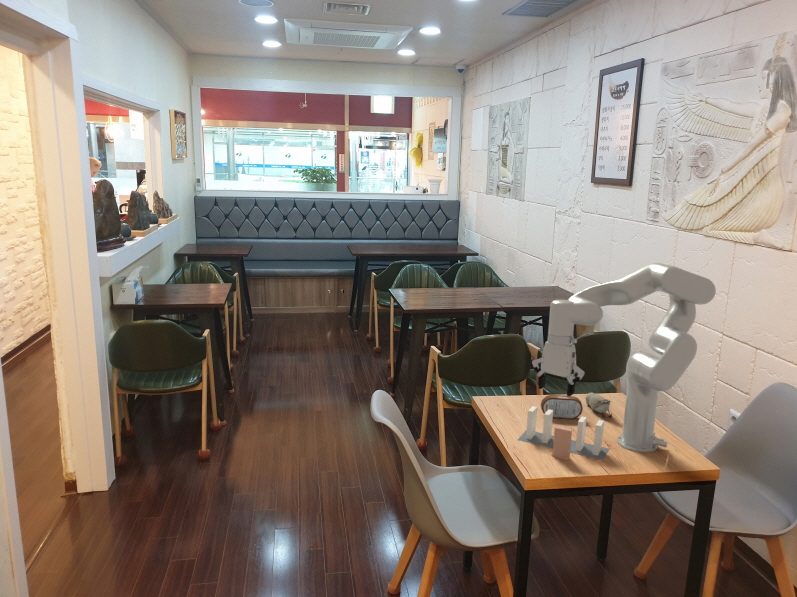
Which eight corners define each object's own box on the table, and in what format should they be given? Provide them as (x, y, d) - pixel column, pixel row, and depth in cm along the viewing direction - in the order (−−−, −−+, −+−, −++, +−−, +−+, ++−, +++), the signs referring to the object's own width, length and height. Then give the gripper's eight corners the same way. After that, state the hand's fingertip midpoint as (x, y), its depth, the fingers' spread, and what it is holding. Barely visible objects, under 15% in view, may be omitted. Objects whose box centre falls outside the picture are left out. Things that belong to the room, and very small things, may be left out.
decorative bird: (593, 404, 237) (595, 386, 236) (614, 420, 222) (616, 401, 220) (580, 404, 236) (582, 386, 235) (601, 420, 221) (603, 401, 220)
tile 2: (551, 438, 203) (553, 410, 201) (546, 443, 199) (549, 415, 197) (546, 437, 204) (548, 409, 202) (542, 442, 199) (544, 414, 198)
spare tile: (553, 455, 191) (556, 426, 189) (569, 459, 189) (572, 429, 187) (552, 457, 190) (554, 427, 188) (568, 461, 187) (570, 431, 185)
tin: (580, 417, 223) (582, 395, 222) (582, 420, 220) (584, 398, 219) (539, 414, 225) (541, 393, 223) (540, 418, 222) (542, 396, 220)
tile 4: (584, 445, 198) (586, 417, 196) (580, 451, 193) (583, 422, 191) (579, 444, 198) (581, 416, 197) (575, 450, 194) (578, 421, 192)
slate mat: (609, 449, 196) (609, 448, 196) (603, 461, 188) (603, 460, 188) (526, 430, 210) (526, 429, 210) (517, 440, 201) (517, 439, 201)
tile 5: (601, 449, 195) (604, 420, 193) (597, 455, 191) (600, 426, 189) (596, 448, 196) (598, 419, 194) (592, 454, 191) (595, 425, 190)
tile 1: (535, 434, 206) (537, 407, 204) (530, 439, 201) (532, 411, 199) (530, 433, 206) (532, 406, 204) (526, 438, 202) (528, 410, 200)
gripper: (591, 342, 185) (586, 395, 188) (540, 332, 195) (536, 382, 199) (581, 347, 179) (576, 401, 182) (529, 336, 190) (525, 387, 193)
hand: (555, 391), depth 190 cm, fingers open, 9 cm apart
